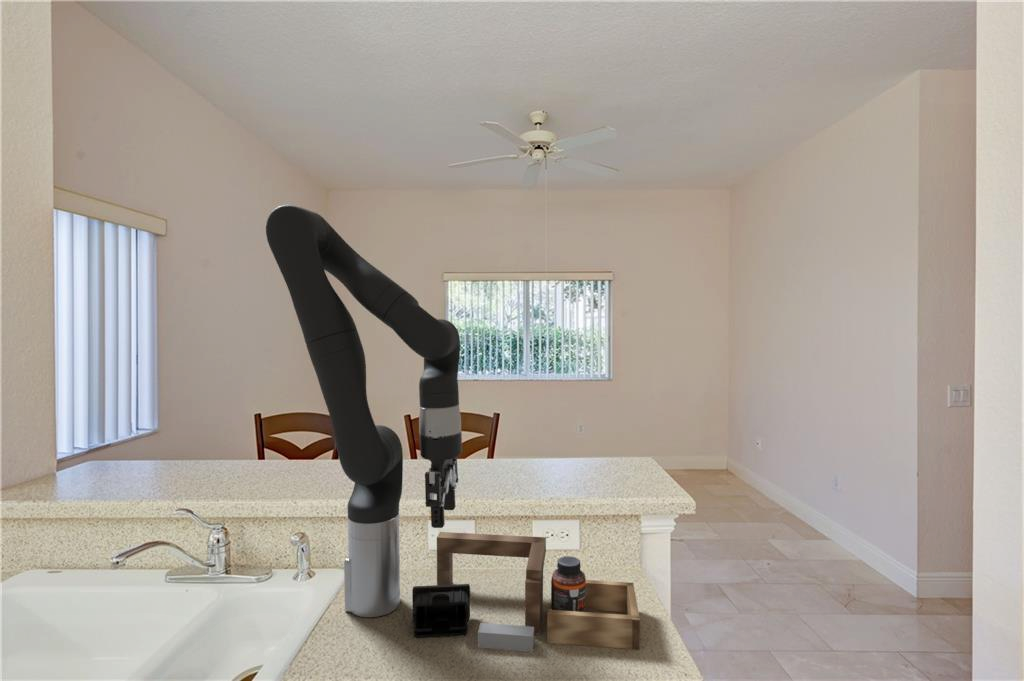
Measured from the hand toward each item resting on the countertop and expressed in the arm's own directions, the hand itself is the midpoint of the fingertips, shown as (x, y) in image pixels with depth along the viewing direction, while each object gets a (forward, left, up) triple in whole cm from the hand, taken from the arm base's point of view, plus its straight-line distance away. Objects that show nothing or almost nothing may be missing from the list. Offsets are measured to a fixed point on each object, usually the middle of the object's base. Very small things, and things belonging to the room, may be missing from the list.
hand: (444, 518), depth 103 cm
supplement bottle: (+23, -2, -17) cm, 29 cm away
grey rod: (+13, -9, -18) cm, 23 cm away
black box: (+1, -5, -18) cm, 18 cm away
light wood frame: (+27, -2, -17) cm, 32 cm away
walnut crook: (+7, +2, -17) cm, 19 cm away
